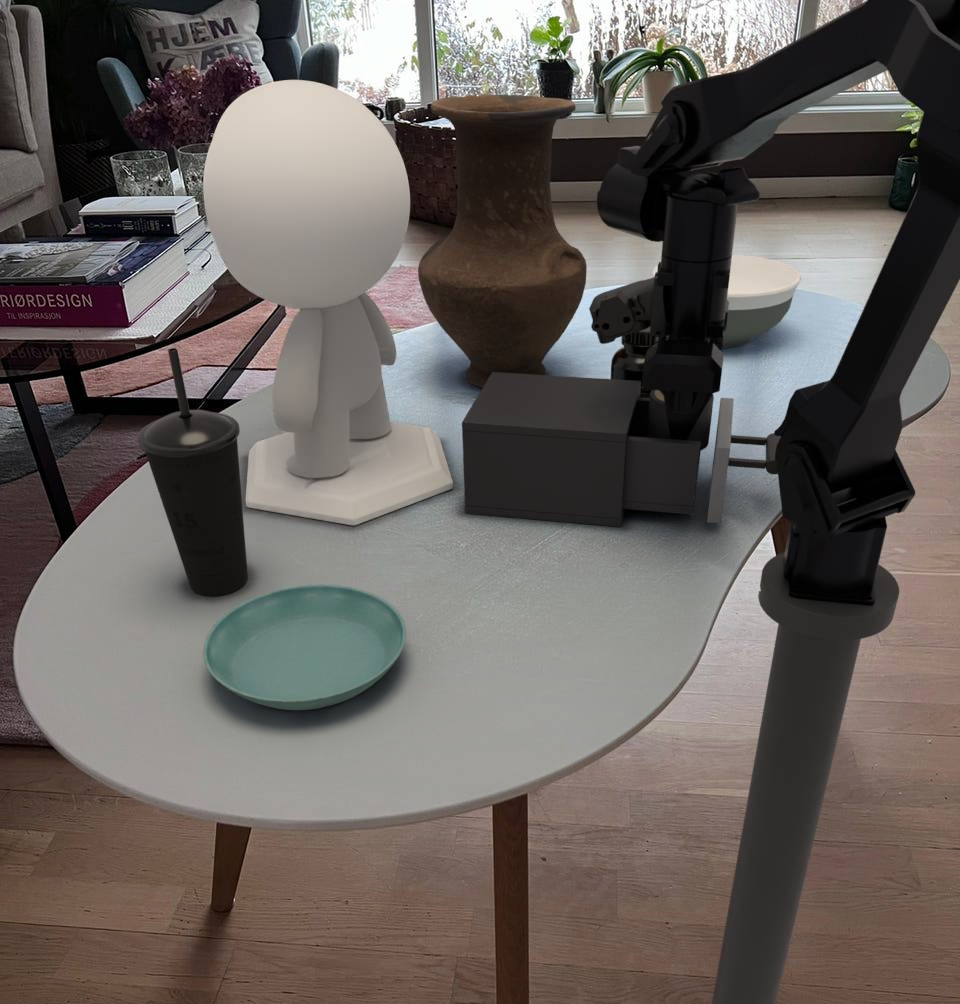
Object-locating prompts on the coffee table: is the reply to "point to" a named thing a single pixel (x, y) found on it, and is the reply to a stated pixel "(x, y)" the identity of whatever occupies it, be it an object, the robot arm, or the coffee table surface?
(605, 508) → the drawer cabinet
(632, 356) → the supplement bottle
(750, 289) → the bowl
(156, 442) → the drinking cup
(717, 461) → the drawer
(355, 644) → the saucer
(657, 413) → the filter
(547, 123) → the vase
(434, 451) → the white cartoon figure
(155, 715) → the coffee table surface
